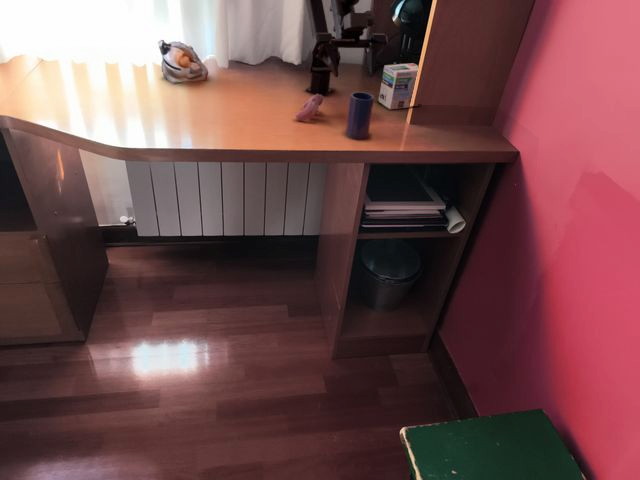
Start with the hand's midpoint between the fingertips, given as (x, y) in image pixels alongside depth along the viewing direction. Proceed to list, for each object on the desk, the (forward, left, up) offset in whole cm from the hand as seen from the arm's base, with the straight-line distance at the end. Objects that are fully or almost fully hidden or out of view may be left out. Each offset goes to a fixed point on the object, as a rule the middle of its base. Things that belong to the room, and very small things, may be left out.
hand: (354, 76), depth 112 cm
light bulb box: (-23, +7, -13) cm, 27 cm away
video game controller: (+1, -11, -13) cm, 17 cm away
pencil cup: (+5, +4, -13) cm, 14 cm away
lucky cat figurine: (-3, -54, -13) cm, 56 cm away
